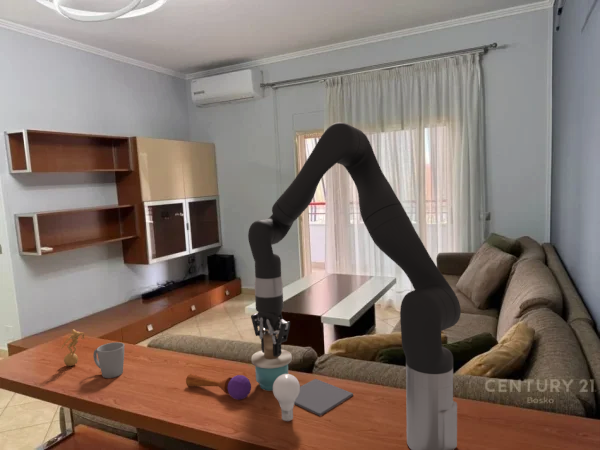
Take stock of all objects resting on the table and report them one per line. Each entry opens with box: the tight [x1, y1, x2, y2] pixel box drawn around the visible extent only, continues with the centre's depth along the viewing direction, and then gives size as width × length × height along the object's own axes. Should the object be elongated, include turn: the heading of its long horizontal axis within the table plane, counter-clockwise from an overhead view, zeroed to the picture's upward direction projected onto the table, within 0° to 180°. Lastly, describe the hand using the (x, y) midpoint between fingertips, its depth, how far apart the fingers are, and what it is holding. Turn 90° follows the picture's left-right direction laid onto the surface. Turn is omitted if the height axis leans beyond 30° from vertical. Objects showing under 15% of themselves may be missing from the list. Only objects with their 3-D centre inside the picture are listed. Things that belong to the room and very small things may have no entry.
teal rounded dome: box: [254, 364, 289, 392], centre depth 117 cm, size 9×9×7 cm
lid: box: [251, 333, 293, 368], centre depth 116 cm, size 11×11×7 cm
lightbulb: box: [272, 373, 301, 422], centre depth 98 cm, size 6×6×11 cm
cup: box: [93, 341, 125, 379], centre depth 127 cm, size 8×10×8 cm
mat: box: [294, 378, 354, 417], centre depth 109 cm, size 13×13×1 cm
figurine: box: [61, 328, 85, 367], centre depth 133 cm, size 8×6×12 cm
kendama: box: [185, 373, 252, 401], centre depth 114 cm, size 6×6×20 cm
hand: (271, 353), depth 116 cm, fingers closed on lid, 4 cm apart
